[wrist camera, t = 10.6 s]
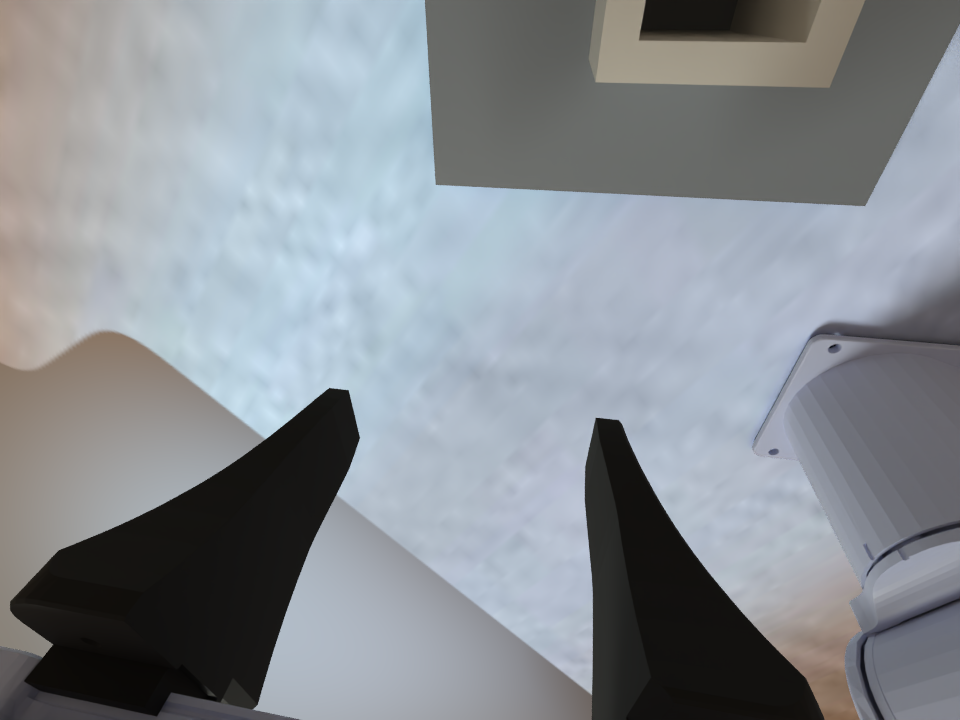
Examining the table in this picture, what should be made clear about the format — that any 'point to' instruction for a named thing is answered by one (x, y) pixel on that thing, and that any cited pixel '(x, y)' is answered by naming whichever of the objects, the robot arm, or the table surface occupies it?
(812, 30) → the sleeve
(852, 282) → the table surface
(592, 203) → the table surface
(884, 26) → the post board
